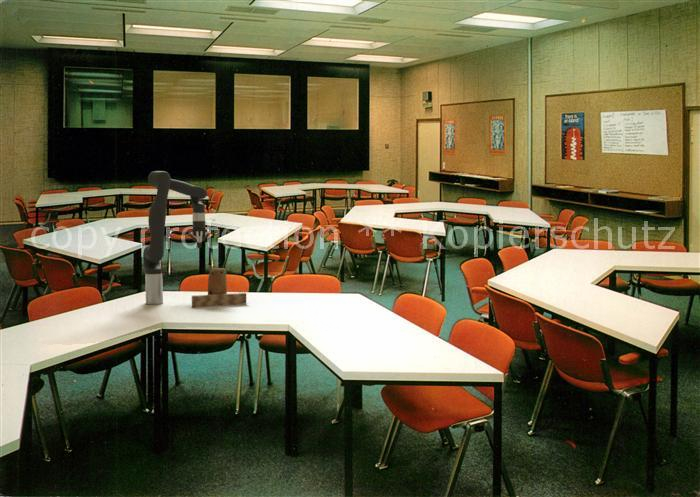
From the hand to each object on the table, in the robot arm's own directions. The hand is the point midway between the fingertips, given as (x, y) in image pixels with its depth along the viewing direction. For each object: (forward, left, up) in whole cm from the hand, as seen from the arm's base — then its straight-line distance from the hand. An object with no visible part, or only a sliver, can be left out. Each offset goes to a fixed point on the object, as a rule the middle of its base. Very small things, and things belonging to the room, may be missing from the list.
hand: (199, 248), depth 361 cm
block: (+6, -30, -29) cm, 42 cm away
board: (+6, -38, -29) cm, 48 cm away
